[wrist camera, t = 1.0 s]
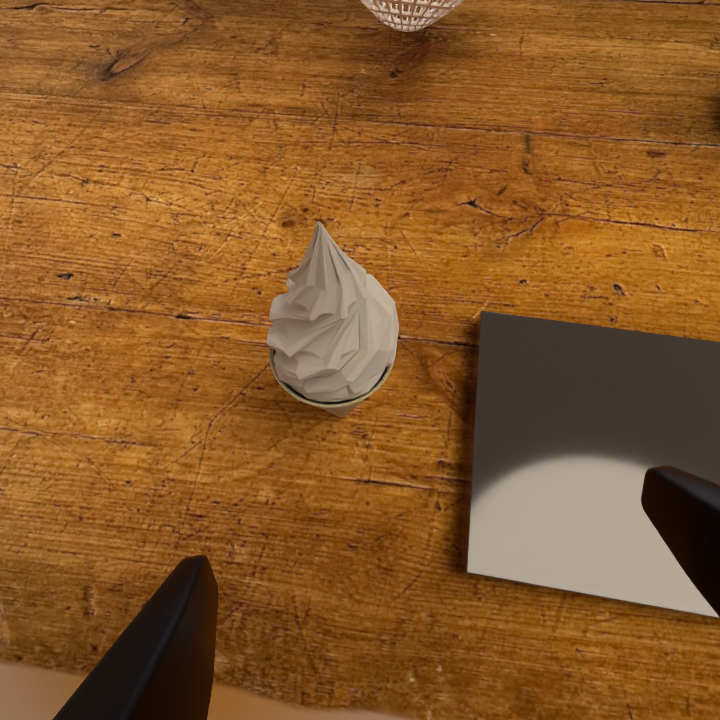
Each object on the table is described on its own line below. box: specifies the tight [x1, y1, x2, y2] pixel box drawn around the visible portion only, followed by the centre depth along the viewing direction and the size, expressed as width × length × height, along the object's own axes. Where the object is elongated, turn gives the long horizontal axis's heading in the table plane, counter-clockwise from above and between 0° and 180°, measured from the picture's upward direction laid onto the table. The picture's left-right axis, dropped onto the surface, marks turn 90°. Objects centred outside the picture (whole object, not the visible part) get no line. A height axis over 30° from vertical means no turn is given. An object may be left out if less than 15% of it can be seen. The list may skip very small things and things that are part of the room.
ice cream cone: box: [266, 221, 399, 418], centre depth 18 cm, size 5×5×15 cm
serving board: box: [460, 311, 720, 620], centre depth 23 cm, size 14×20×2 cm
